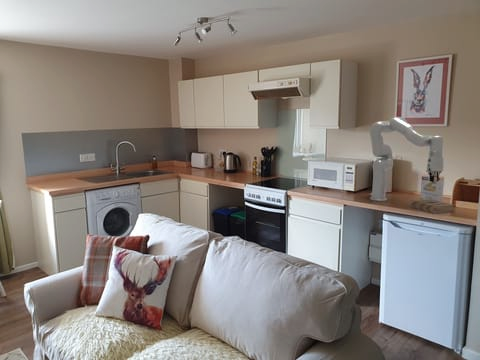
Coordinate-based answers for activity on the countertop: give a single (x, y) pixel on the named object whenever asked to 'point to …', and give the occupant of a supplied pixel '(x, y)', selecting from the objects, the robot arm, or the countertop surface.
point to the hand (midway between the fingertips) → (433, 181)
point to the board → (432, 206)
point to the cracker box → (431, 188)
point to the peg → (434, 177)
